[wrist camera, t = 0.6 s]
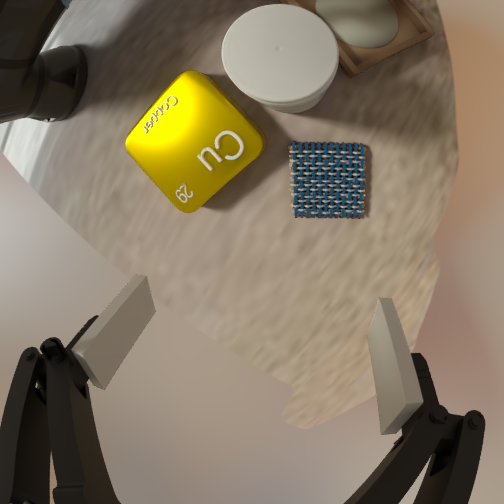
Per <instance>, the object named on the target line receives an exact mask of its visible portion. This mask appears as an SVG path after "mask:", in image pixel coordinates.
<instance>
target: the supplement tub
mask: <svg viewBox="0 0 504 504" xmlns="http://www.w3.org/2000/svg"><path fill="white" fill-rule="evenodd" d="M222 62H223V65H224V68H225V70H226V72H227V74H228V76H229V77H230V79H231V80H232V81H233V82H234V84H235V85H236V86H237V87H238V88H239V89H240V90H241V91H242V92H244V93H245V94H246V95H248V96H249V97H251V98H253V99H255V100H256V101H258V102H260V103H262V104H264V105H266V106H268V107H270V108H272V109H274V110H276V111H279V112H283V113H299V112H303V111H306V110H308V109H310V108H312V107H314V106H315V105H316V104H317V103H318V102H319V101H320V100H321V99H322V98H323V96H324V94H325V93H326V91H327V89H328V88H329V86H330V84H331V83H332V81H333V79H334V77H335V74H336V72H337V68H338V63H339V51H338V45H337V41H336V39H335V36H334V34H333V32H332V31H331V29H330V28H329V26H328V25H327V24H326V23H325V22H324V21H323V20H322V19H321V18H319V17H318V16H317V15H315V14H314V13H312V12H310V11H308V10H306V9H303V8H301V7H297V6H293V5H287V4H271V5H265V6H261V7H257V8H255V9H252V10H250V11H248V12H246V13H245V14H243V15H242V16H240V17H239V18H238V19H237V20H236V21H235V22H234V23H233V24H232V25H231V27H230V28H229V29H228V31H227V33H226V35H225V37H224V40H223V44H222Z"/></svg>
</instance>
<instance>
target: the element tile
mask: <svg viewBox="0 0 504 504" xmlns="http://www.w3.org/2000/svg"><path fill="white" fill-rule="evenodd" d="M266 144H267V140H266V137H265V135H264V133H263V132H262V131H261V130H260V128H259V127H258V126H257V125H256V124H255V123H254V122H253V121H252V120H251V119H250V118H249V116H248V115H247V114H246V113H245V112H244V111H243V110H242V109H241V108H240V107H239V106H238V105H237V104H236V103H235V102H234V101H233V100H232V99H231V98H230V97H229V96H228V95H227V94H226V93H225V92H224V91H223V90H222V89H221V88H220V87H219V86H218V85H217V84H216V83H215V82H214V81H213V80H212V79H211V78H210V77H209V76H207V75H205V74H202V73H200V72H197V71H194V70H187V71H185V72H182V73H181V74H180V75H178V76H177V77H176V78H175V79H174V80H173V81H172V83H171V84H170V85H169V86H168V87H167V88H166V89H165V90H164V91H163V92H162V93H161V95H160V96H159V97H158V98H157V99H156V100H155V101H154V103H153V104H152V105H151V106H150V107H149V109H148V110H147V111H146V112H145V113H144V115H143V116H142V117H141V118H140V120H139V121H138V122H137V123H136V125H135V126H134V127H133V128H132V130H131V131H130V132H129V134H128V136H127V138H126V141H125V147H126V149H127V152H128V153H129V155H130V156H131V157H132V158H133V159H134V160H135V162H136V163H137V164H138V165H139V166H140V167H141V168H142V170H143V171H144V172H145V173H146V174H147V175H148V176H149V177H150V179H151V180H152V181H153V182H154V183H155V184H156V185H157V186H158V188H159V189H160V190H161V191H162V192H163V193H164V194H165V195H166V196H167V198H168V199H169V200H170V201H171V202H172V203H173V204H174V205H175V206H176V207H177V209H179V210H180V211H182V212H184V213H192V212H195V211H196V210H198V209H199V208H200V207H201V206H202V205H203V204H204V203H206V202H207V201H208V200H209V199H210V198H211V197H212V196H213V195H214V194H216V193H217V192H218V191H219V190H220V189H221V188H222V187H223V186H225V185H226V184H227V183H228V182H229V181H230V180H231V179H232V178H234V177H235V176H236V175H237V174H238V173H239V172H241V171H242V170H243V169H244V168H245V167H246V166H248V165H249V164H250V163H251V162H252V161H254V160H255V159H256V158H257V157H258V156H260V155H261V154H262V152H263V151H264V150H265V148H266Z"/></svg>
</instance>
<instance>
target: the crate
mask: <svg viewBox="0 0 504 504" xmlns="http://www.w3.org/2000/svg"><path fill="white" fill-rule="evenodd" d="M279 1H280V2H281V3H282V4H287V5H293V6H297V7H301V8H303V9H306V10H308V11H310V12H312V13H314V14H315V15H317V16H318V17H319V18H321V19H322V20H323V21H324V22H325V23H326V24H327V25H328V26H329V28H330V29H331V31H332V32H333V34H334V36H335V39H336V41H337V45H338V51H339V64H340V65H341V66H342V68H343V69H344V70H345V71H346V73H347V74H348V75H349V77H350V78H352V77H354V76H355V75H357V74H359V73H361V72H362V71H364V70H366V69H368V68H370V67H372V66H373V65H375V64H377V63H379V62H381V61H383V60H385V59H387V58H389V57H391V56H392V55H394V54H396V53H398V52H400V51H403V50H405V49H407V48H409V47H411V46H413V45H415V44H417V43H419V42H422V41H424V40H426V39H428V38H430V37H432V36H433V35H435V33H434V31H433V30H432V29H431V27H430V26H429V25H428V23H427V22H426V21H425V20H424V18H423V17H422V16H421V15H420V13H419V12H418V11H417V10H416V9H415V7H414V6H413V5H412V4H411V3H410V2H409V1H408V0H279Z"/></svg>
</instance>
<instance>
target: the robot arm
mask: <svg viewBox="0 0 504 504" xmlns="http://www.w3.org/2000/svg"><path fill="white" fill-rule="evenodd" d="M71 1H72V0H0V124H1V123H4V122H8V121H13V120H17V119H21V118H31V119H35V120H39V121H43V122H55V121H60V120H63V119H64V118H66V117H67V116H69V115H70V114H71V113H72V111H73V110H74V109H75V107H76V106H77V104H78V102H79V101H80V99H81V96H82V94H83V91H84V88H85V84H86V79H87V62H86V58H85V55H84V53H83V52H82V51H81V50H80V49H79V48H77V47H74V46H60V47H57V48H54V49H50V50H47V51H44V52H41V53H40V51H41V49H42V47H43V46H44V44H45V42H46V40H47V39H48V37H49V35H50V34H51V32H52V30H53V29H54V27H55V25H56V24H57V22H58V21H59V19H60V18H61V16H62V15H63V13H64V12H65V10H66V9H68V8H69V4H70V3H71ZM155 312H156V311H155V307H154V303H153V300H152V295H151V291H150V287H149V283H148V279H147V276H144V275H137V274H136V275H135V276H134V278H133V279H132V280H131V281H130V282H129V283H128V284H127V285H126V286H125V287H124V288H123V290H122V291H121V292H120V293H119V294H118V295H117V296H116V297H115V298H114V300H113V301H112V302H111V303H110V304H109V305H108V307H107V308H106V309H105V310H104V311H103V312H102V313H101V314H100V316H98V315H96V316H94V317H93V318H91V319H90V320H88V322H87V323H86V324H85V325H84V327H83V328H82V329H81V330H80V332H78V333H77V335H76V336H75V337H74V338H73V339H72V341H71V342H70V343H69V344H68V345H67V347H66V348H64V347H63V344H62V343H61V341H60V340H59V339H58V338H56V337H53V338H49V339H46V340H45V341H44V342H43V343H42V345H41V346H40V350H41V352H42V354H40V352H39V351H38V349H37V348H35V347H30V348H27V349H26V350H25V351H23V353H22V355H21V357H20V359H19V362H18V365H17V368H16V371H15V374H14V377H13V380H12V383H11V387H10V390H9V394H8V397H7V401H6V405H5V409H4V413H3V417H2V422H1V426H0V504H50V491H49V490H50V484H49V483H50V480H49V479H50V455H51V452H52V458H53V464H54V470H55V475H56V480H57V487H56V488H54V489H53V499H54V502H55V504H121V503H120V502H119V501H118V499H117V497H116V495H115V492H114V490H113V487H112V484H111V481H110V478H109V475H108V472H107V469H106V465H105V462H104V458H103V455H102V451H101V448H100V443H99V439H98V436H97V431H96V427H95V422H94V417H93V412H92V406H91V400H90V394H89V387H88V384H87V383H86V382H87V381H88V379H90V381H91V382H92V384H93V385H94V386H96V387H99V388H101V389H103V390H105V389H106V387H107V385H108V384H109V382H110V380H111V379H112V377H113V376H114V374H115V373H116V371H117V369H118V368H119V366H120V365H121V363H122V362H123V360H124V359H125V357H126V355H127V354H128V352H129V351H130V349H131V348H132V346H133V345H134V343H135V342H136V340H137V339H138V337H139V336H140V334H141V333H142V331H143V330H144V328H145V327H146V325H147V324H148V322H149V321H150V319H151V318H152V316H153V315H154V314H155ZM367 339H368V344H369V350H370V355H371V361H372V367H373V374H374V380H375V387H376V395H377V402H378V411H379V420H380V431H381V435H386V434H396V433H397V432H398V431H399V430H400V429H401V428H402V436H401V437H400V438H399V439H398V440H397V441H396V442H395V443H394V444H395V445H394V446H393V448H392V449H391V451H390V452H389V453H388V454H387V456H386V457H385V458H384V459H383V461H382V462H381V463H380V464H379V466H378V467H377V468H376V469H375V470H374V472H373V473H372V474H371V475H370V476H369V477H368V479H367V480H366V481H365V482H364V483H363V484H362V485H361V486H360V487H359V489H358V490H357V491H356V492H355V493H354V494H353V495H352V496H351V497H350V498H349V499H348V500H347V501H346V502H345V503H344V504H398V503H399V502H400V501H401V499H402V498H403V497H404V495H405V494H406V493H407V492H408V490H409V489H410V487H411V486H412V485H413V483H414V482H415V480H416V479H417V477H418V476H419V474H420V473H421V471H422V470H423V468H424V466H425V465H426V463H427V462H428V460H429V458H430V457H431V459H430V462H429V465H428V468H427V471H426V473H425V476H424V479H423V481H422V484H421V486H420V489H419V491H418V494H417V496H416V499H415V500H414V503H413V504H468V501H469V499H470V496H471V492H472V489H473V485H474V481H475V478H476V474H477V470H478V465H479V461H480V455H481V450H482V445H483V438H484V430H485V419H484V416H483V415H482V414H481V413H480V412H478V411H476V410H472V411H469V412H468V413H467V414H466V415H465V416H460V415H454V414H450V413H448V411H447V409H446V408H445V407H443V406H442V405H440V404H439V402H438V398H437V395H436V391H435V387H434V384H433V381H432V378H431V374H430V372H429V368H428V365H427V362H426V360H425V358H424V357H423V356H422V355H421V353H410V350H409V347H408V344H407V341H406V338H405V335H404V332H403V329H402V326H401V323H400V320H399V317H398V314H397V311H396V309H395V306H394V303H393V301H392V298H379V299H378V302H377V306H376V309H375V312H374V315H373V318H372V321H371V324H370V327H369V330H368V332H367ZM36 382H37V384H38V387H37V388H36V387H35V386H36ZM431 455H432V456H431Z"/></svg>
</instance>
